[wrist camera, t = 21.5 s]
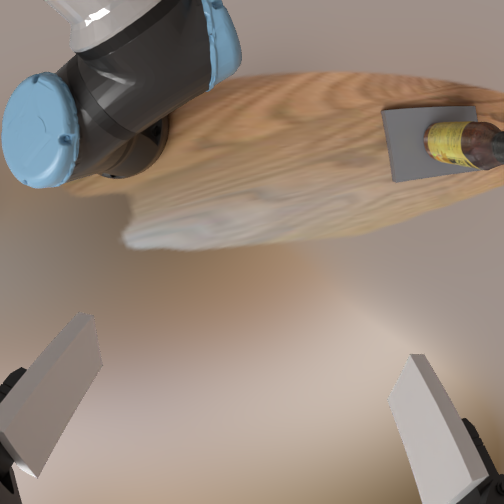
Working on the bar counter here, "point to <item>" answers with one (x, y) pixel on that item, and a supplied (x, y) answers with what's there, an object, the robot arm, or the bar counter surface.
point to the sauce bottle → (466, 144)
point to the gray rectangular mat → (420, 140)
